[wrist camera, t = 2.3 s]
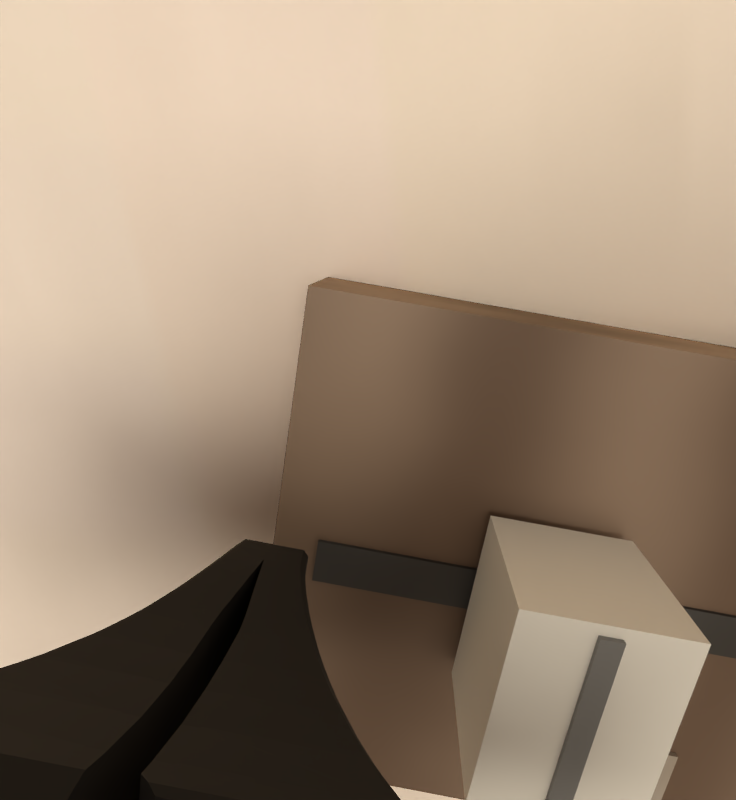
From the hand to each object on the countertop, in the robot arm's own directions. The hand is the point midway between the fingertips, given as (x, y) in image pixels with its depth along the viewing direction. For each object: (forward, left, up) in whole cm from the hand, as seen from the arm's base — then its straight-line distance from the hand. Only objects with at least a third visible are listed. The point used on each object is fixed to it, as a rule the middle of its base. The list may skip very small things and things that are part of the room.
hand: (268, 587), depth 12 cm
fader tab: (-6, 0, -1) cm, 6 cm away
